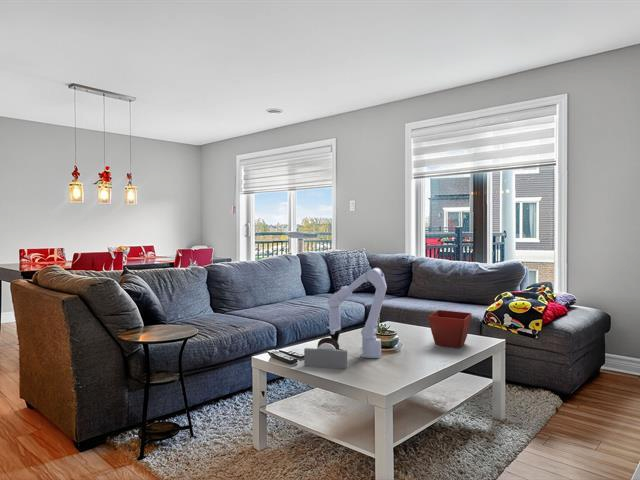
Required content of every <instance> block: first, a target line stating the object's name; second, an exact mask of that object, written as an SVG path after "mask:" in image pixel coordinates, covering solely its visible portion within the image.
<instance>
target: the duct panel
mask: <svg viewBox="0 0 640 480" xmlns="http://www.w3.org/2000/svg"><path fill="white" fill-rule="evenodd" d="M303 351H304V352H303V360H304V361H303V362H304V363H303V364H304V365H303V366H304V367H312V368H313V367H314V368H315V367H316V368H327V369H330V368H331V369H345V370H347V369H348V349H342V350H336V349H335V347H334V346H333V345H331V344H329V343H324V344H321V345H320V346H319V347H318V348H312V347H311V348H310V347H305V348H304V350H303Z"/></svg>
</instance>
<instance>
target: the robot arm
mask: <svg viewBox="0 0 640 480" xmlns="http://www.w3.org/2000/svg"><path fill="white" fill-rule="evenodd" d="M368 282H370V283H371V284H372V285H373V287H374V288H375V292H374V296H373V299H372V303H371V306H370V310H369V314H368V317H367V319H366V321H365V325H364V326H363V327H362V328H361V331H360V332H361V333H360V334H361V339H362V341H361V342H362V344H361V346H362V347H361V349H362V350H361V351H362V352H361V355H360V358H370V359H380V358H381V356H382V339H381V338H377V337H378V336H377V335H376V334H377V333H378V320H379V316H380V313H381V309H382V306H383V303H384V300H385V299H384V298H385V295H386V292H387V289H388V287H387V286H388V284H387V283H386V278H385V274H384V272H383V271H382V269H381V268H379V267H374V268H372V269H369V270H367V271H366V272H364V273H363V274H361V275H360V276H358V278H356V279H355V280H354V281H352V283H350V284H349V286H348V285H344V286H341V287H340V289H339V290H338V291H337V292H334V293H333V295H331V296H330V297H329V298H328V300H327V304H328V306H329V310H328V311H329V312H328V315H329V317H328V319H329V320H328V322H329V323H328V325H329V326H327V327H326V328H327V329H329V331H328V334H329V336H330V338H332V339H335V340H336V341H337V342H338V343H339V338H340V334H341V331H342V327H341V305H342V303H344V302H345V301H346V300H347V299H349V298H350V297H351V296H352V295H353V291H354V290H356V289H357V288H359V286H361V285H362V284H363V283H368Z"/></svg>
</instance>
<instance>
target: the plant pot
mask: <svg viewBox="0 0 640 480" xmlns="http://www.w3.org/2000/svg"><path fill="white" fill-rule="evenodd" d="M472 314H473V313H471V312H466V311H465V312H464V311H453V310H442V309H437V310H436V311H434V312H432V313H431V314H429V315H428V320H429V321H428V322H429V326H430V327H429V328H430V331H431V334H432V337H433V341H434V343H435V346H436V345H437V346H436V347H444V348H445V347H446V348H452V349H460V348H462V346H464V344H465V342H466V341H467V340H466V339H467V338H468V334H469V330H470V327H471V320H472Z"/></svg>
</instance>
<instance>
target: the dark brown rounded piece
mask: <svg viewBox="0 0 640 480" xmlns="http://www.w3.org/2000/svg"><path fill="white" fill-rule="evenodd" d="M317 342H318V343H317V346H316V347H317V348H318V347H319V346H320V345H321V344H324V343H329V344H331V345H333V346H334V347H335V349H336V350H343V348H342V349H341V348H340V344H339V341H338V342H337V341H336V340H335V339H332V338H331V337H324V338H321V339H320V340H319V341H317ZM317 348H316V349H317Z"/></svg>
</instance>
